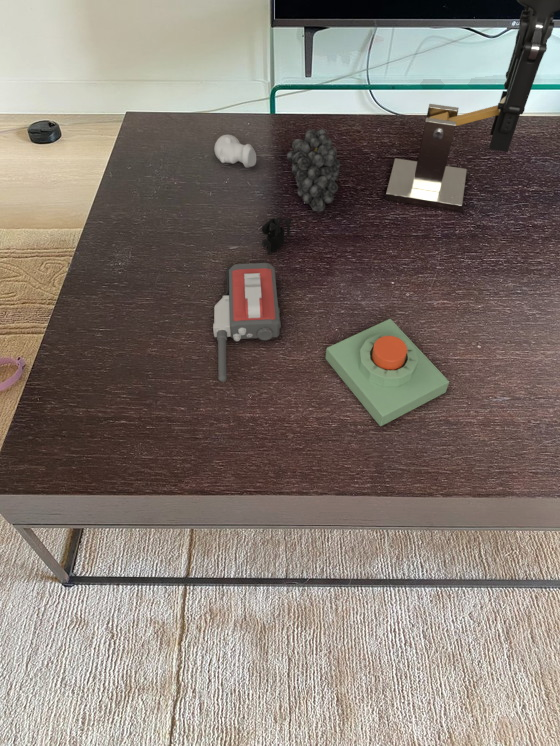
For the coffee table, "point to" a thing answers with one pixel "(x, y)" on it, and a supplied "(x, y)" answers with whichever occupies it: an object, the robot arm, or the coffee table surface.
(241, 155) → the smooth white sculpture
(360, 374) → the switch box
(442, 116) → the switch lever
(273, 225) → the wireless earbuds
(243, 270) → the walkie-talkie
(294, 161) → the fruit
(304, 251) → the coffee table surface
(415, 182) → the switch bracket
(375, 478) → the coffee table surface
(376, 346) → the switch button
